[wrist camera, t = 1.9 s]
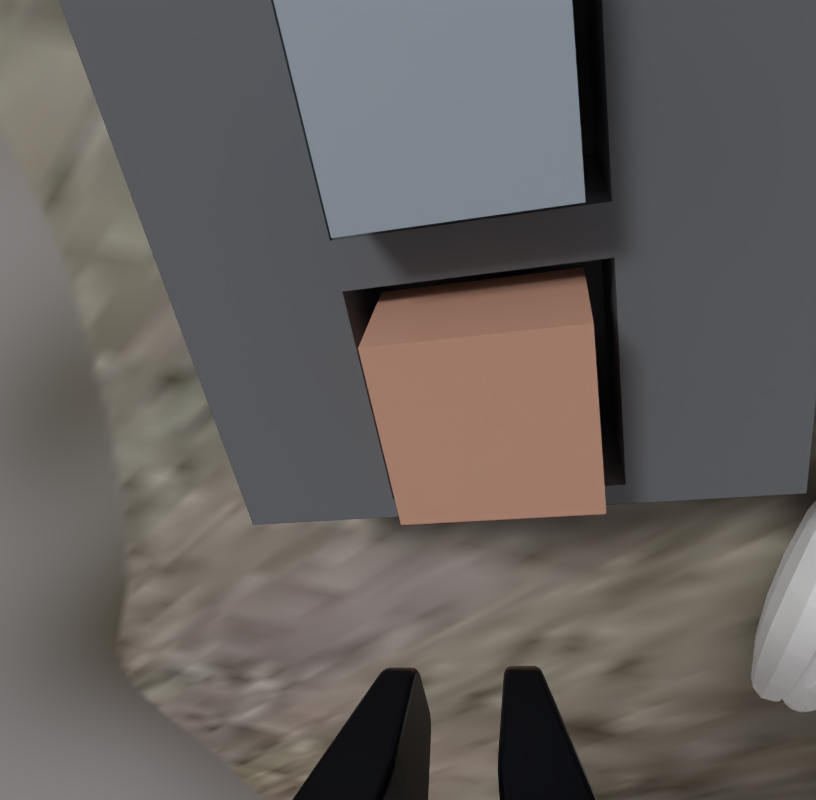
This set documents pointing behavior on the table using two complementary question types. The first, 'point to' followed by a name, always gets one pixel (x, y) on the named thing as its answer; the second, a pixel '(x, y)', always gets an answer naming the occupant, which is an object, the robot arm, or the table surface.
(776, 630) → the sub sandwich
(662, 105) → the keypad
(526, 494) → the key terracotta
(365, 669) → the table surface
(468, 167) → the key slate
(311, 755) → the table surface
